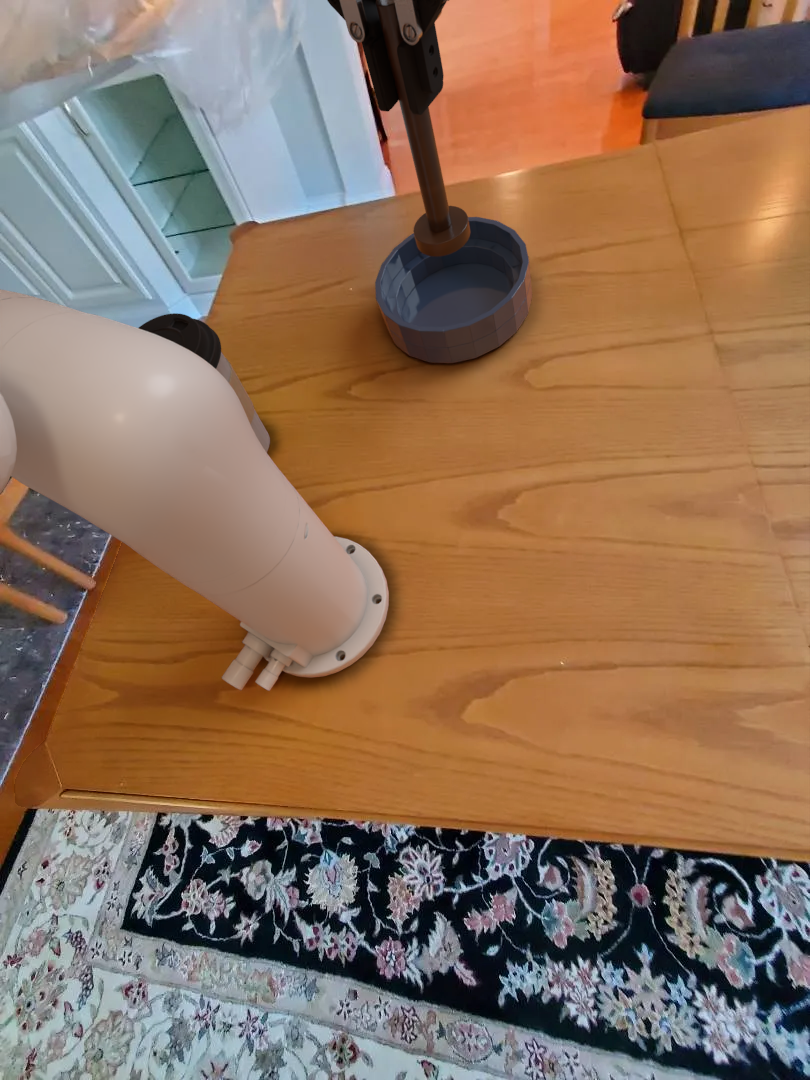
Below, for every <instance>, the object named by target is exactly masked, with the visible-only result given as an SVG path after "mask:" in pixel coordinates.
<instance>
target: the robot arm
mask: <svg viewBox="0 0 810 1080" xmlns="http://www.w3.org/2000/svg"><path fill="white" fill-rule="evenodd" d="M326 1H327V3H329V5H330V6H331V7H332V8H333V9H334V11H336V13H338V15H339V16H340V17H341V18H342V20H344V21H345V24H346V25H345V26H346V28H347V31H348V34H349V36H350V38H351V39H352V40H353V41H354V42H356V43H359V44H360V43H361V46H362V50H363V54H364V58H365V62H366V65H367V66H366V67H367V70H368V73H369V77H370V80H371V85H372V87H373V91H374V95H375V99H376V102H377V106H378V109H379V110H380V112H390V111H391V110H392V109H393V108H394V107H395V105H396V104H397V103H399V99H398V95H397V90H396V86H395V82H394V78H393V74H392V69H391V65H390V61H389V57H388V53H387V49H386V44H385V40H384V36H383V32H382V28H381V23H380V19H379V15H378V11H377V7H376V0H326ZM449 1H450V0H394V2H395V7H396V12H397V17H398V21H399V26H400V31H401V35H402V37H403V39H404V40H403V41H402V42H401V43H400V44H399V45H398V47H397V55H398V59H399V63H400V68H401V72H402V77H403V81H404V85H405V90H406V94H407V99H408V103H409V107H410V110H411V111H412V113H413V114H416V115H422V114H423V113H424V112H425V110H426V109H427V108H428V107H429V106H430V105H431V104H432V103H433V102H434V100H436V98H437V97H438V96H439V94H441V92H442V90H443V89H444V77H445V76H444V69H443V63H442V57H441V56H442V55H441V51H440V46H439V40H438V34H437V28H436V22H437V20H438V19H439V18H440V16H441V15H442V12H443V9H444V7H445V5H446V4H447V2H449ZM429 108H430V107H429ZM10 478H13V479H15V480H16V481H17V482H19V483H20V484H22V485H23V486H26V487H27V488H29V489H31V490H33V491H34V492H36V493H39V494H40V495H42V496H43V497H45V498H48V499H49V500H51V501H53V502H54V503H57V504H58V505H60V506H62V507H64V508H65V509H67V510H69V511H70V512H71V513H74V514H75V515H78V516H79V517H81V518H82V519H85V520H86V521H87V522H89V523H91V524H92V525H94V526H95V527H97V528H98V529H100V530H102V531H104V532H105V533H107V534H109V535H110V536H111V537H113V538H115V539H116V540H118V541H120V542H121V543H123V544H125V545H126V546H128V547H129V548H131V550H133V551H135V553H137V554H138V555H140V556H141V557H143V558H144V559H145V560H146V561H148V562H150V563H151V564H152V565H153V566H156V567H157V568H158V569H160V570H161V571H163V572H164V573H165V574H166V575H168V576H170V577H172V578H174V580H176V581H177V582H179V583H181V584H182V585H184V586H185V587H187V588H189V589H190V590H192V591H194V592H196V593H197V594H198V595H200V596H201V597H203V598H204V599H206V600H207V601H209V602H210V603H212V604H214V605H215V606H217V607H219V608H220V609H221V610H222V611H225V612H226V613H228V614H229V615H230V616H232V617H234V618H235V619H236V620H238V621H239V622H240V623H239V626H240V627H241V628H242V629H244V630H245V631H247V633H246V635H245V636H244V639H242V641H241V643H242V644H244V645H243V647H242V649H241V650H240V652H239V653H238V654H237V656H236V658H235V659H233V660H232V661H231V663H230V664H229V666H228V667H227V669H226V670H225V671H224V673H223V675H221V679H222V680H223V681H224V682H225V683H227V684H229V685H230V686H232V687H234V688H235V689H237V690H239V691H242V690H243V689H244V688H245V686H246V684H247V683H248V681H250V678H251V677H252V675H254V672H255V669H256V668H257V666H258V665H259V663H260V662H261V660H262V659H263V658H264V659H265V660H266V661H267V662H268V663H267V665H266V666H265V668H262V671H261V672H260V673H259V675H258V676H257V678H256V680H254V682H255V683H256V685H258V686H260V687H261V688H263V689H265V690H266V691H268V692H271V690H272V688H273V687H274V685H275V684H276V682H277V681H278V679H279V676H280V675H281V673H282V672H284V673H285V674H288V675H292V676H296V677H300V678H311V679H312V678H320V677H326V676H330V675H333V674H336V673H339V672H341V671H342V670H345V669H347V668H348V667H350V666H352V665H353V664H355V663H356V662H357V661H358V660H359V659H361V658H362V657H363V656H364V655H365V654H366V653H367V652H368V651H369V650H370V648H371V647H373V645H374V643H375V642H376V640H377V639H378V637H379V636H380V634H381V632H382V630H383V628H384V624H385V622H386V620H387V616H388V612H389V606H390V605H389V603H390V602H389V601H390V599H389V598H390V592H389V587H388V586H389V585H388V581H387V578H386V576H385V573H384V570H383V568H382V567H381V565H380V564H379V562H378V561H377V559H376V558H375V557H374V556H373V555H372V554H371V552H370V551H369V550H368V549H366V548H365V547H364V546H362V545H360V544H359V543H357V542H355V541H353V540H351V539H348V538H345V537H340V536H334V535H333V533H332V532H331V531H330V530H329V529H328V527H327V526H326V525H325V524H324V523H323V521H322V520H321V519H320V518H319V516H318V515H317V514H316V513H315V511H314V510H313V509H312V508H311V506H310V504H308V502H306V500H305V499H304V498H303V496H302V495H301V494H300V493H299V491H298V490H297V489H296V488H295V487H294V486H293V484H292V483H291V482H290V481H289V479H288V478H287V476H285V475H284V473H283V472H282V471H281V470H280V468H279V467H278V466H277V464H276V463H275V462H274V461H273V459H272V458H271V457H270V455H269V454H268V452H267V453H266V451H265V450H264V448H263V447H262V445H261V443H260V442H259V440H258V438H257V437H256V435H255V433H254V431H253V429H252V427H251V425H250V422H249V420H248V418H247V416H246V413H245V411H244V409H243V407H242V404H241V402H240V400H239V398H238V396H237V395H236V393H235V391H234V390H233V388H232V387H231V385H230V384H229V383H228V381H227V380H226V379H225V378H224V377H223V376H222V375H221V374H220V373H219V372H218V371H217V370H216V369H215V368H214V367H213V366H212V365H210V364H209V363H208V362H207V361H205V360H204V359H202V358H201V357H199V356H198V355H196V354H195V353H193V352H192V351H190V350H188V349H186V348H184V347H182V346H180V345H178V344H176V343H174V342H172V341H170V340H168V339H165V338H163V337H161V336H158V335H156V334H153V333H150V332H148V331H145V330H142V329H139V327H136V326H133V325H129V324H127V323H123V322H120V321H117V320H114V319H110V318H108V317H104V316H102V315H98V314H93V313H88V312H84V311H81V310H78V309H75V308H72V307H68V306H65V305H63V304H59V303H56V302H54V301H53V302H52V301H49V300H47V299H43V298H40V297H36V296H33V295H30V294H25V293H20V292H18V291H17V292H15V291H11V290H6V289H1V288H0V495H1V494H2V492H3V491H4V489H5V488H6V486H7V484H8V483H9V481H10ZM378 602H379V603H378ZM343 657H344V658H343ZM342 658H343V659H342Z"/></svg>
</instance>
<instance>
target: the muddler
mask: <svg viewBox="0 0 810 1080" xmlns="http://www.w3.org/2000/svg"><path fill="white" fill-rule="evenodd" d="M376 7H377V11H378V15H379V19H380V23H381V28H382V32H383V36H384V40H385V44H386V49H387V53H388V57H389V61H390V65H391V69H392V74H393V78H394V82H395V86H396V90H397V95H398V99H399V101H398V103H399V107H400V111H401V116H402V119H403V124H404V127H405V132H406V136H407V140H408V145H409V149H410V153H411V156H412V161H413V165H414V169H415V174H416V177H417V178H416V179H417V182H418V186H419V190H420V194H421V199H422V203H423V208H424V211H425V213H423V214H422V215H420V216H419V217H418V219H417V220H416V222H415V224H414V225H413V230H412V231H413V233H414V236H415V240H416V244H417V247H418V249H419V250H420V251H421V252H422V253H423V254H425V255H428V256H433V257H439V256H445V255H449V254H451V253H454V252H455V251H457V250H459V249H460V248H461V247H463V246H464V245H465V244H466V242H467V241H468V239H469V237H470V226H469V220H468V217H469V216H468V214H467V212H466V211H465V210H464V209H463V208H461V207H458V206H455V205H449V201H448V196H447V192H446V191H447V190H446V187H445V182H444V176H443V172H442V167H441V162H440V158H439V157H440V156H439V152H438V147H437V141H436V136H435V132H434V128H433V123H432V122H433V121H432V117H431V112H430V107H428V108H427V109H426V110H425V112H424V113H423V114H422V115H416V114H413V113H412V111H411V110H410V107H409V103H408V99H407V94H406V90H405V85H404V81H403V77H402V72H401V68H400V63H399V59H398V55H397V47H398V45H399V44H400V43H401V42H402V41H403V40H404V39H403V37H402V35H401V31H400V26H399V21H398V17H397V12H396V7H395V2H394V0H376Z"/></svg>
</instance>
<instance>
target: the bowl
mask: <svg viewBox="0 0 810 1080" xmlns="http://www.w3.org/2000/svg"><path fill="white" fill-rule="evenodd" d="M468 220H469V226H470V237H469V239H468V241H467V242H466V244H465V245H464V246H463V247H461V248H460V249H459V250H457V251H455V252H454V253H451V254H449V255H445V256H439V257H433V256H428V255H425V254H423V253H422V252H421V251H420V250H419V249H418V247H417V244H416V240H415V236H414V232H413V233H411V234H409V235H408V236H407V237H406V238H405V239H403V240H402V241H400V242H399V243H398V244H397V245H396V246H395V247H393V248H392V250H391V251H390V252H389V254H388V255H387V257H386V258H385V259H384V261H383V262H382V263H381V265H380V267H379V270H378V273H377V275H376V279H375V282H374V289H375V291H374V292H375V301H376V303H377V306H378V308H379V309H378V310H379V311H380V314H381V316H382V319H383V322H384V324H385V327H386V330H387V332H388V334H389V335H390V338H391V339H392V341H393V343H394V345H395V346H396V347H398V348H399V349H400V350H401V351H403V352H404V353H405V354H406V355H408V356H410V357H412V358H415V359H418V360H421V361H423V362H427V363H432V364H433V363H434V364H436V363H437V364H454V363H460V362H464V361H469V360H473V359H476V358H479V357H481V356H484V355H485V354H488V353H489V352H491V351H493V350H495V349H498V348H499V347H500V346H501V345H503V344H504V343H505V342H506V341H508V340H509V339H510V338H511V337H512V336H514V335H515V334H516V333H517V332H518V330H519V329H520V327H521V326H522V324H523V323H524V321H525V319H526V318H527V317H528V315H529V312H530V308H531V305H532V304H531V302H532V299H533V287H532V277H531V267H530V259H529V254H528V249H527V244H526V243H525V241H524V240H523V239H522V238H521V236H520V235H519V233H518V232H517V231H516V230H515V229H514V228H512V227H510V226H509V225H506V224H504V223H503V222H501V221H499V220H496V219H490V218H485V217H481V216H468Z"/></svg>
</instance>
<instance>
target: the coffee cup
mask: <svg viewBox="0 0 810 1080" xmlns="http://www.w3.org/2000/svg"><path fill="white" fill-rule="evenodd" d="M138 328H139V329H142V330H145V331H148V332H150V333H153V334H156V335H158V336H161V337H163V338H165V339H168V340H170V341H172V342H174V343H176V344H178V345H180V346H182V347H184V348H186V349H188V350H190V351H192V352H193V353H195V354H196V355H198V356H199V357H201V358H202V359H204V360H205V361H207V362H208V363H209V364H210V365H212V366H213V367H214V368H215V369H216V370H217V371H218V372H219V373H220V374H221V375H222V376H223V377H224V378H225V379H226V380H227V381H228V383H229V384H230V385H231V387H232V388H233V390H234V391H235V393H236V395H237V396H238V398H239V400H240V402H241V404H242V407H243V409H244V411H245V413H246V416H247V418H248V420H249V422H250V425H251V427H252V429H253V431H254V433H255V435H256V437H257V438H258V440H259V442H260V443H261V445H262V447H263V448H264V450H265V451H266V453H267V454H268V451H269V450H270V449H269V448H270V445H271V437H270V434H269V433H268V431H267V429H266V427H265V425H264V424H263V422H262V420H261V418H260V417H259V414H258V413H257V411H256V410H255V406H254V403H253V400H252V399H251V397H250V396H249V393H248V392H247V391H246V388H245V387H244V385H243V384H242V382H241V380H240V378H239V376H238V375H237V372H236V371H235V370H234V367H233V365H232V364H231V362H230V360H228V358H227V357H226V356H225V355H224V354H223V352H222V343H221V339H220V337H219V336H218V334H217V332H216V331H215V330H214V329H213V328H211V327H210V325H208V324H207V323H206V322H204V321H203V320H200V319H198V318H197V319H196V318H193V317H191V316H189V315H187V314H184V313H177V312H176V313H166V314H163V315H159V316H156V317H153V318H152V319H149V320H148V321H146V322H145V323H143V324H141V325H140V326H138Z"/></svg>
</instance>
